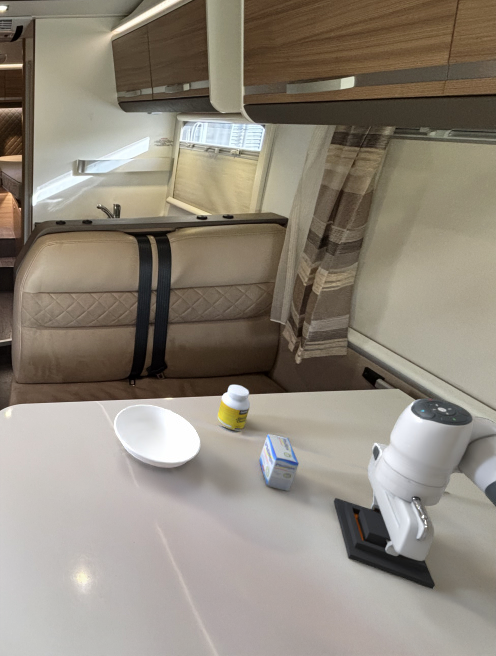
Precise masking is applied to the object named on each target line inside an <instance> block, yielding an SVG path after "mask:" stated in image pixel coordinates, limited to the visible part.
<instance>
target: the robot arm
mask: <svg viewBox="0 0 496 656" xmlns="http://www.w3.org/2000/svg"><path fill="white" fill-rule="evenodd" d="M371 448H372V449H371V453H372V454H371V457H370V460H369V463H368V466H367V478H368V480H369V484H370V486H371V489H372V503H371V505H370V509H371V510H372V511H373V512H376V513H379V514H382V516H383V519H384V522H385V524H386V527H387V530H388V533H389V535H390V539H391V541H389V540H386V541H385V543H384V547H385V550H386V552H387V553H388V554H391V555H394V556H398V555H399V554H400V555H403V556H405V557H408V558H411V559H414V560H418V561H423V560H425V561H426V558H427V556H428V554H429V552H430V549H431V547H432V544H433V541H434V537H435V527H434V524H433V521H432V519H431V517H430V515H429V513H428V511H427V509H426V507H433V506H436V505H437V504H439V502H440V500H441V499H442V497H443V495H444V493H445V491H446V489H447V488H448V485H449V483H450V481H451V475H452V474H463V475H464V476H465V477H466V478H467V479H468V480H469V481H471V482H472V483H473V484H474V485H475V486H476V487H477V488H478V489H479V490H480V491H481V492H483V494H484V495H485V496H486V498H487V499H488V500H489V502H491V503H492V504H493V505H494V507H496V422H495V421H493V420H491V419H489V418H485V417H482V416H475V415H473V414H471V413H470V412H469V411H468V410H467V409H466V408H464V407H463V406H460V405H459V404H456V403H453V402H451V401H448V400H444V399H439V398H430V397H429V398H427V397H426V398H418V399H416V400H414V401H412V402H411V403H409V404H408V405H407V406H406V407H405V408H404V409H403V411H402V412H401V414H399V417H398V418H397V420H396V422H395V424H394V425H393V428H392V429H391V433H390V435H389V444H384V443H379V442H373V445H372V447H371Z"/></svg>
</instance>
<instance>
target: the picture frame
mask: <svg viewBox="0 0 496 656" xmlns="http://www.w3.org/2000/svg"><path fill="white" fill-rule="evenodd" d="M333 504H334V507H335V511H336V515H337V520H338V523H339V527H340V531H341V536H342V539H343V543H344V546H345V550H346V554H347V558H348V559H350V560H352V561H355V562H358V563H361V564H363V565H366V566H368V567H370V568H374V569H377V570H380V571H382V572H384V573H387V574H390V575H392V576H395V577H398V578H401V579H403V580H406V581H409V582H411V583H414V584H417V585H420V586H423V587H425V588H428V589H430V590H434V588H435V586H436V583H435V582H434V579H433V577H432V574H431V571H430V569H429V567H428V564H427V562H426V559H425V560H423V561H418V560H414V559H411V558H408V557H405V556H403V555H400V554H399V555H398V556H394V555H391V554H388V553H387V552H386V550H385V548H383V547H380V546H377V545H374V544H372V543H369V542H366V541H364V539H363V536H362V533H361V529H360V526H359V523H358V519H357V517H358V515H359V513H360V510H361V508H364V509H367V510H370V511H372V510H371V508H370V507H369V508H368V507H365V506H363V505H359V504H356V503H354V502H350V501H347V500H344V499H340V498H338V497H335V498H334V499H333Z"/></svg>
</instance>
